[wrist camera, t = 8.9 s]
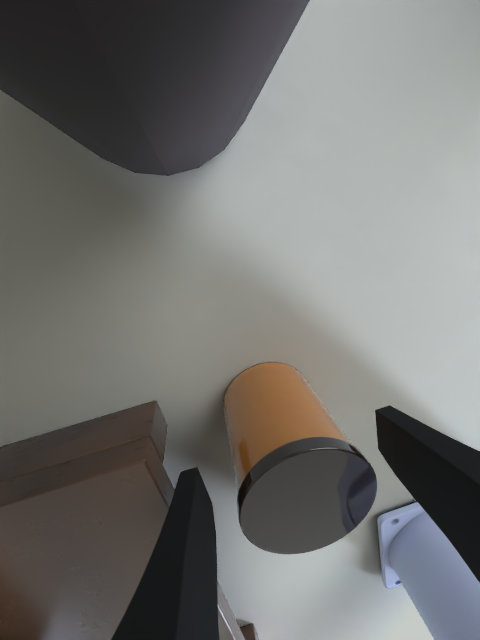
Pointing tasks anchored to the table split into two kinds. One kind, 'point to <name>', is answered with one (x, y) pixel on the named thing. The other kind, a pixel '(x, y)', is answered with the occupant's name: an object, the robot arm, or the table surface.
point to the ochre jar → (292, 463)
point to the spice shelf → (84, 527)
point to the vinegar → (144, 72)
